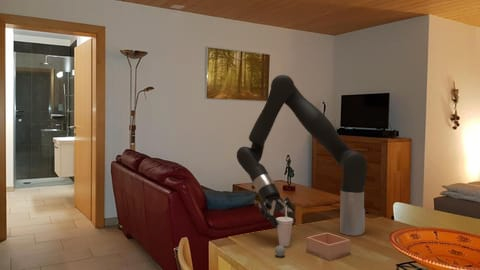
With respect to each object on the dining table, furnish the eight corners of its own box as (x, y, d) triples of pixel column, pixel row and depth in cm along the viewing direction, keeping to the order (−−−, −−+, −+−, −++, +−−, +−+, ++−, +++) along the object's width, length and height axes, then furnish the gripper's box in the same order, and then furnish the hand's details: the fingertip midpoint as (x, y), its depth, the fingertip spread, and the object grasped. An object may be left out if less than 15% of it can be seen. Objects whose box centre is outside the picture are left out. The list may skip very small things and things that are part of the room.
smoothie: (292, 248, 142) (292, 209, 142) (274, 247, 143) (274, 208, 143) (293, 242, 148) (294, 205, 148) (276, 241, 150) (276, 204, 149)
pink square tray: (327, 245, 145) (327, 232, 145) (350, 254, 137) (350, 239, 136) (306, 251, 139) (306, 237, 139) (329, 260, 130) (329, 245, 130)
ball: (280, 253, 137) (280, 243, 137) (287, 256, 134) (287, 246, 134) (272, 255, 135) (272, 245, 135) (279, 258, 132) (279, 248, 132)
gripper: (255, 184, 147) (275, 221, 139) (284, 181, 156) (304, 216, 147) (247, 196, 152) (265, 233, 143) (275, 192, 160) (294, 226, 151)
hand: (285, 224), depth 145 cm, fingers open, 8 cm apart
